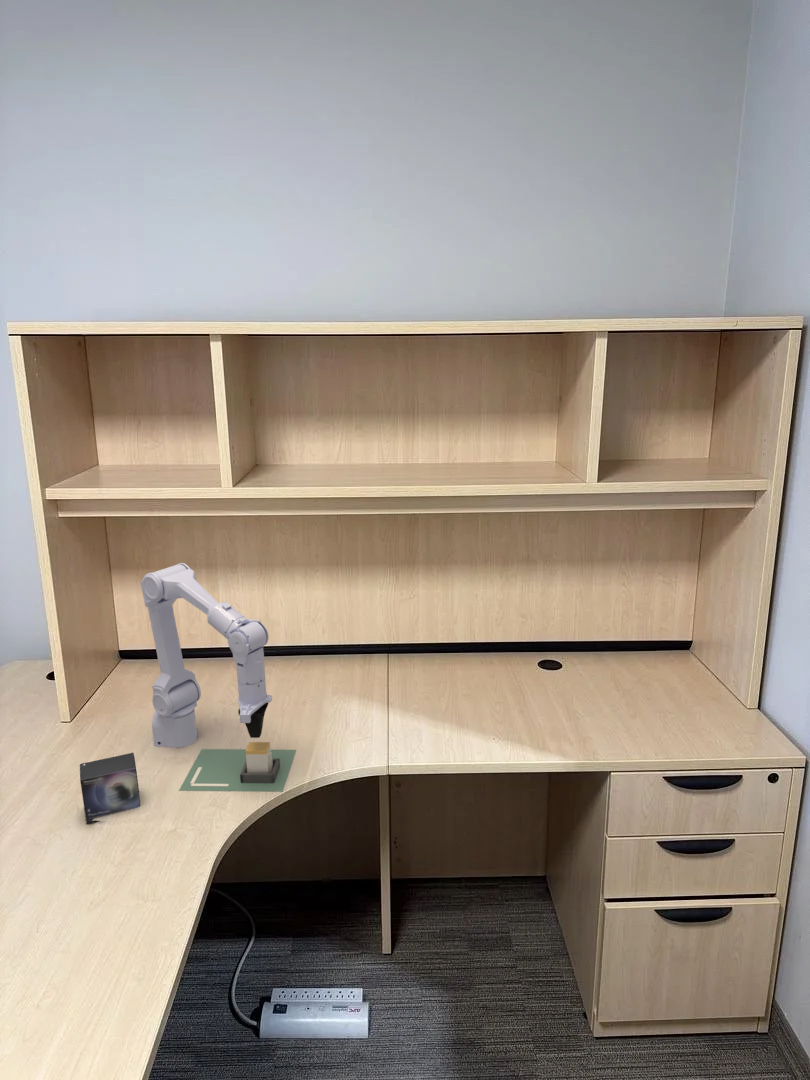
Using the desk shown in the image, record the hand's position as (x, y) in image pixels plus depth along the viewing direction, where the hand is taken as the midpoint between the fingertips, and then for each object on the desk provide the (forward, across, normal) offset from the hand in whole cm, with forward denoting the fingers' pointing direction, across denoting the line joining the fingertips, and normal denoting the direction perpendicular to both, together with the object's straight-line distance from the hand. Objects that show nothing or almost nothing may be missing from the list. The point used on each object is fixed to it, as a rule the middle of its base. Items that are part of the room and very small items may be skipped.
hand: (255, 736), depth 159 cm
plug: (+9, 0, 0) cm, 9 cm away
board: (+10, +1, +4) cm, 11 cm away
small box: (+11, -12, +27) cm, 32 cm away
